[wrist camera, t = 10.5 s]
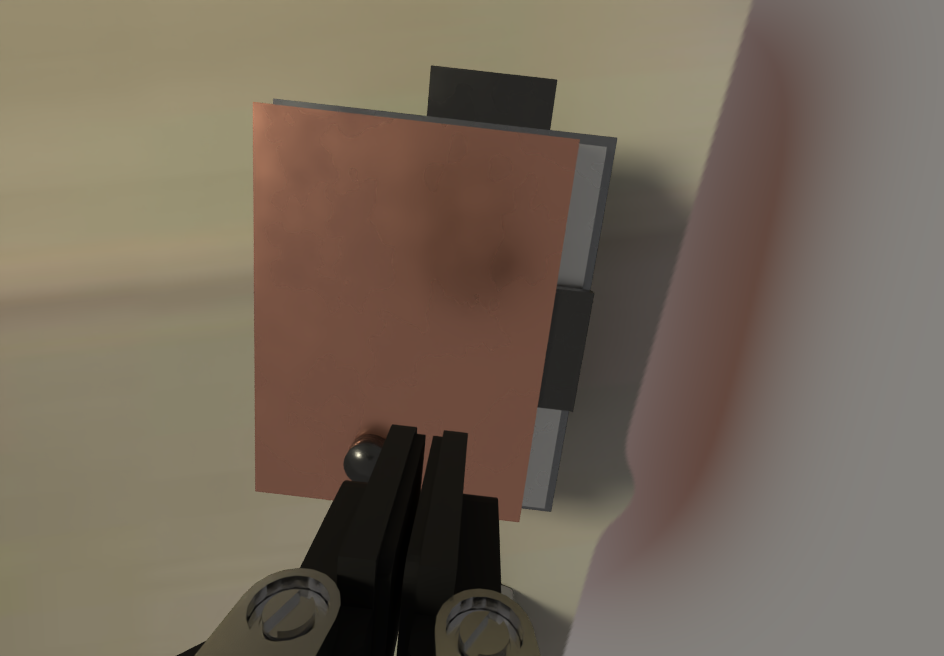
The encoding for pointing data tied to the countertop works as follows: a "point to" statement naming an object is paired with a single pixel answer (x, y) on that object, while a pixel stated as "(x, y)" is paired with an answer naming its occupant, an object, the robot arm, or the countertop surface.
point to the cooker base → (530, 111)
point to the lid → (407, 295)
